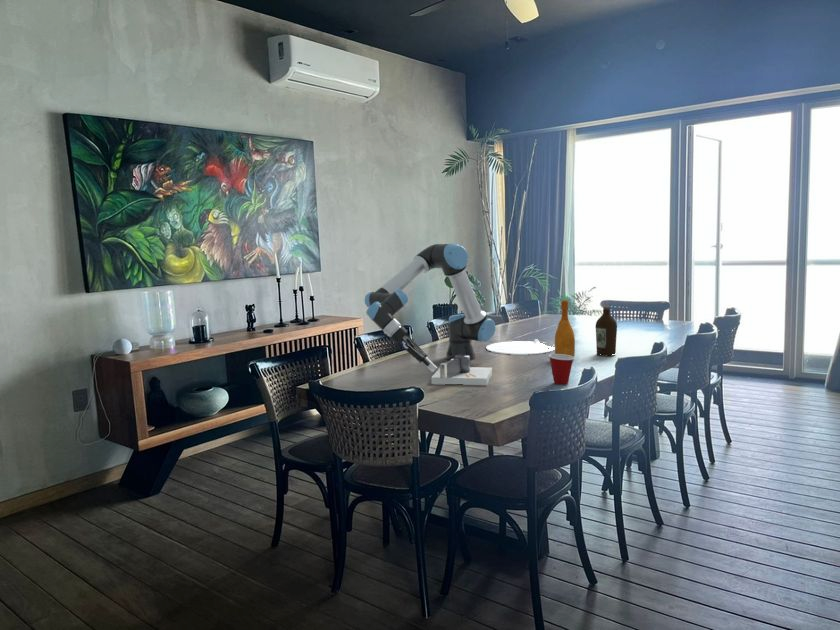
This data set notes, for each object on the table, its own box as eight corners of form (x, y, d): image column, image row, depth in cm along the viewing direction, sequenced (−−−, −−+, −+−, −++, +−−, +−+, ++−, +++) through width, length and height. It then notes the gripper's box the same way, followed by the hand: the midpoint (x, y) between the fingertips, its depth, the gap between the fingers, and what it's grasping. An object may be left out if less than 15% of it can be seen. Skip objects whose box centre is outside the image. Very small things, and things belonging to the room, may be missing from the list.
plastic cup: (575, 386, 254) (576, 358, 252) (549, 386, 255) (549, 357, 254) (573, 380, 264) (573, 353, 263) (548, 380, 266) (548, 353, 265)
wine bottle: (566, 356, 315) (566, 298, 312) (578, 360, 307) (579, 300, 303) (550, 359, 311) (550, 300, 307) (563, 362, 302) (563, 301, 299)
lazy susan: (510, 340, 371) (510, 335, 370) (570, 346, 346) (570, 340, 345) (472, 351, 340) (472, 345, 340) (535, 358, 315) (535, 352, 315)
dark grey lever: (459, 369, 278) (459, 354, 277) (472, 370, 275) (472, 355, 274) (436, 378, 260) (435, 362, 259) (449, 380, 257) (448, 363, 256)
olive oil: (606, 352, 325) (606, 305, 322) (621, 355, 316) (621, 306, 313) (591, 354, 320) (591, 306, 317) (606, 357, 311) (606, 308, 308)
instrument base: (440, 373, 286) (440, 358, 285) (492, 374, 281) (491, 359, 280) (431, 384, 265) (431, 368, 264) (486, 385, 260) (486, 369, 259)
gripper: (394, 335, 271) (431, 372, 270) (386, 340, 259) (425, 379, 257) (405, 323, 270) (443, 361, 268) (397, 327, 257) (437, 367, 255)
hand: (434, 370), depth 263 cm, fingers closed
